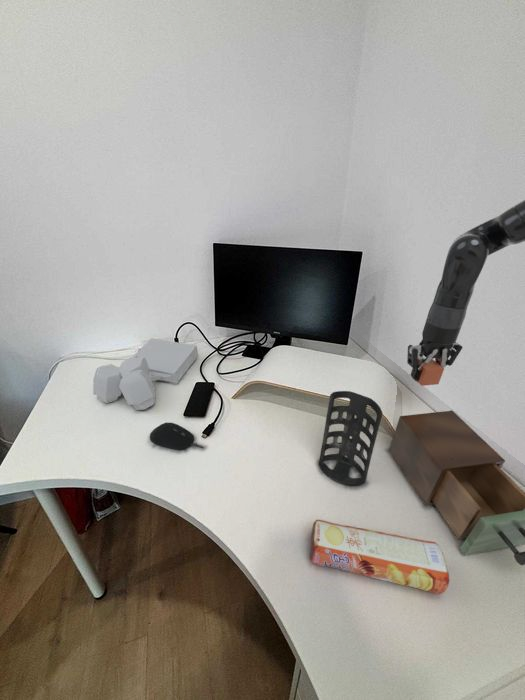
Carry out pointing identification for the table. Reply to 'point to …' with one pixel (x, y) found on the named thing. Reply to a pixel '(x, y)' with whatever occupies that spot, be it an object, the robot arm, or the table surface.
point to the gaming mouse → (172, 437)
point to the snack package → (380, 556)
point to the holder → (349, 445)
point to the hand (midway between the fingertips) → (424, 378)
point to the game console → (144, 372)
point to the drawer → (483, 509)
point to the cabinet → (437, 449)
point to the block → (430, 373)
